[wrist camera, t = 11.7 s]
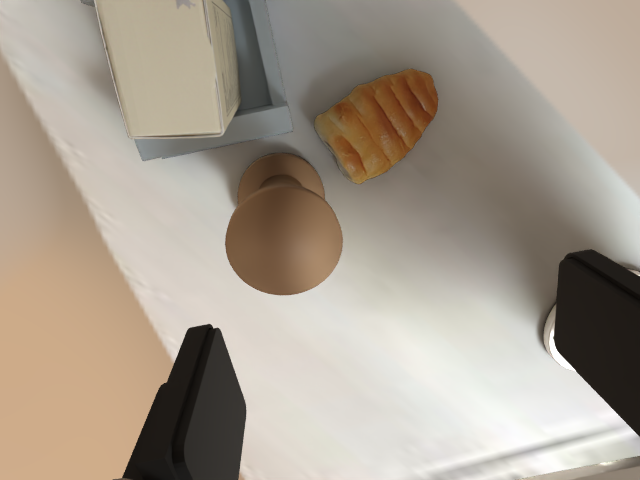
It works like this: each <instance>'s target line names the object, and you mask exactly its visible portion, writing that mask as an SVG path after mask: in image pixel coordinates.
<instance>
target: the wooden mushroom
mask: <svg viewBox="0 0 640 480" xmlns="http://www.w3.org/2000/svg"><path fill="white" fill-rule="evenodd" d="M238 204H239V205H238V207H237V208H236V209H235V211H234V213H233V214H232V216H231V219H230V222H229V225H228V229H227V233H226V241H225V245H226V253H227V257H228V260H229V262H230V265H231V266H232V268H233V270H234V271H235V272H236V274H237V275H238V276H239V277H240V278H241V279H242V280H243V281H244V282H245V283H247V284H248V285H249V286H251V287H253V288H255V289H257V290H259V291H261V292H265V293H268V294H274V295H293V294H298V293H302V292H305V291H307V290H310V289H312V288H314V287H316V286H317V285H319V284H320V283H321V282H323V281H324V280H325V279H326V278H327V277H328V276H329V275H330V274H331V273H332V271H333V270H334V268H335V267H336V265H337V263H338V261H339V258H340V255H341V252H342V243H343V238H342V231H341V227H340V224H339V222H338V220H337V217H336V215H335V213H334V211H333V210H332V208H331V207H330V205H329V204H328V203H327V202H326V201H325V194H324V188H323V184H322V182H321V179H320V177H319V175H318V173H317V172H316V170H315V169H314V168H313V167H312V166H311V165H310V164H309V163H308V162H307V161H305V160H304V159H302V158H300V157H298V156H296V155H293V154H288V153H273V154H269V155H266V156H263V157H261V158H259V159H258V160H256V161H255V162H253V163H252V164H251V165H250V166H249V167H248V168H247V170H246V171H245V173H244V174H243V176H242V179H241V181H240V185H239V189H238Z"/></svg>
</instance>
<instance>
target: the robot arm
mask: <svg viewBox="0 0 640 480" xmlns="http://www.w3.org/2000/svg"><path fill="white" fill-rule="evenodd" d="M543 337H544V344H545V347H546V350H547V352H548V353H549V354H550V356H551V357H552V358H553V359H554V360H555V361H556V362H557V363H558V364H559V365H561V366H563V367H565V368H566V369H569V370H573V371H576V372H577V373H578V374H579V375H580V376H581V377H582V378H583V379H584V380H585V381H586V382H587V383H588V384H589V385H590V386H591V387H592V388H593V389H594V390H595V391H596V392H597V393H598V394H599V395H600V396H601V397H602V398H603V399H604V400H605V401H606V402H607V404H608V405H609V406H610V407H611V408H612V409H613V410H614V411H615V412H616V413H617V414H618V415H619V416H620V417H621V418H622V419H623V420H624V421H625V422H626V423H627V424H628V425H629V426H630V427H631V428H632V429H633V430H634V431H635V432H636V433H637V434H638V435H639V436H640V272H638V271H635V270H631V269H626V268H624V267H622V266H621V265H619V264H617V263H615V262H614V261H612V260H610V259H609V258H607V257H605V256H603V255H602V254H600V253H598V252H596V251H594V250H592V249H590V250H584V251H579V252H573V253H569V254H567V255H566V256H565V258H564V260H562V261H561V262H560V264H559V274H558V288H557V301H556V304H555V306H554V307H553V309H552V311H551V312H550V314H549V316H548V318H547V321H546V324H545V327H544V335H543ZM245 421H246V404H245V400H244V397H243V394H242V391H241V388H240V385H239V382H238V380H237V377H236V374H235V371H234V368H233V365H232V362H231V359H230V356H229V353H228V350H227V348H226V345H225V342H224V339H223V336H222V333H221V331H220V329H219V328H214V329H213V327H212V325H211V324H207V325H202V326H197V327H192V328H189V329H188V330H187V332H186V335H185V338H184V340H183V343H182V345H181V348H180V350H179V353H178V355H177V358H176V360H175V363H174V365H173V368H172V371H171V373H170V376H169V378H168V381H167V383H164V384H163V385H161V387H160V388H159V390H158V392H157V394H156V397H155V399H154V402H153V404H152V407H151V409H150V412H149V414H148V416H147V419H146V421H145V424H144V426H143V428H142V431H141V434H140V436H139V438H138V441H137V443H136V446H135V448H134V450H133V453H132V455H131V458H130V460H129V462H128V465H127V467H126V470H125V472H124V475H123V477H122V478H121V479H113V480H238V478H239V469H240V461H241V453H242V445H243V437H244V429H245ZM517 480H640V456H637V457H631V458H626V459H621V460H616V461H610V462H605V463H600V464H595V465H589V466H584V467H579V468H574V469H568V470H563V471H558V472H553V473H548V474H543V475H538V476H532V477H527V478H522V479H517Z"/></svg>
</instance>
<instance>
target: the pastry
mask: <svg viewBox="0 0 640 480" xmlns="http://www.w3.org/2000/svg"><path fill="white" fill-rule="evenodd" d="M437 106H438V97H437V92H436V89H435V87H434V82H433V79H432V77H431V75H430V74H427V73H425V72H421V71H417V70H414V69H407V70H404V71H402V72H399V73H396V74H392V75H385V76H382V77H380V78H378V79H376V80H374V81H372V82H370V83H367V84H361V85H358V86H356V87H355V88H354V89H353V90H352V92H351V93H350V95H348V96H346V97H345V98H343V99H342V100H341V101H340V102H338V103H336V104H335V105H334V106H332V107H331V108H330V109H329V110H327V111H326V112H325V113H322V114H319V115H318V116H317V117H316V119H315V121H314V128H315V130H316V131H317V133H318V135H319V136H320V138H321V139H322V141H323V142H324V144H325V145H326V146H327V147H328V149H329V150H330V152H332V154H333V155H334V156H335V157H336V160H337V165H338V167H339V169H340V170H341V172H342V173H343V175H344V176H345V177H346V178H347V179H349V180H350V181H352V182H354V183H356V184H361V183H363V182H364V181H366V180H368V179H370V178H374V177H376V176H378V175H380V174H382V173H385V172H387V171H388V170H389V169H390V168H391V167H392V166H393V165H394V164H395V163H397V162H398V161H400V160H401V159H402V158H404V157H405V155H406V154H407V153H408V152H409V151H410V150H411V149H412V148H413V147H414V145H415V143H416V142H417V141H418V140H419V139H420V138H421V135H422V133H423V131H424V130H425V128H426V127H427V126H428V124H429V123H430V122H431V121H432V120H433V118H434V116H435V114H436V112H437Z"/></svg>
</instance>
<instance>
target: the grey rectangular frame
mask: <svg viewBox="0 0 640 480" xmlns="http://www.w3.org/2000/svg"><path fill="white" fill-rule="evenodd" d="M223 1H224V2H225V4H226V5H227V6H228V7H229V8H230V10H231V15H232V22H233V29H234V36H235V44H236V52H237V60H238V69H239V78H240V89H241V104H240V105H239V107H238V109H237V111H236V112H235V114H234V116H233V118H232V120H231V121H230V123H229V125H228V126H227V128H226V130H225V132H224V134H223V135H222V136H220V137H204V138H177V139H134V140H135V143H136V146H137V148H138V151H139V153H140V156H141V159H142V161H146V160H151V159H156V158H160V157H162V159H165V158H170V157H175V156H179V155H184V154H189V153H194V152H198V151H203V150H208V149H212V148H217V147H222V146H227V145H231V144H236V143H241V142H246V141H250V140H255V139H260V138H264V137H269V136H274V135H279V134H283V133H288V132H293V131H292V130H293V126H292V122H291V117H290V112H289V107H288V104H287V101H286V96H285V91H284V87H283V82H282V77H281V72H280V68H279V63H278V58H277V54H276V49H275V44H274V39H273V35H272V30H271V25H270V21H269V16H268V11H267V6H266V2H265V0H223ZM81 3H84V4H87V5H90V6H93V7H95V3H94V0H81Z"/></svg>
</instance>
